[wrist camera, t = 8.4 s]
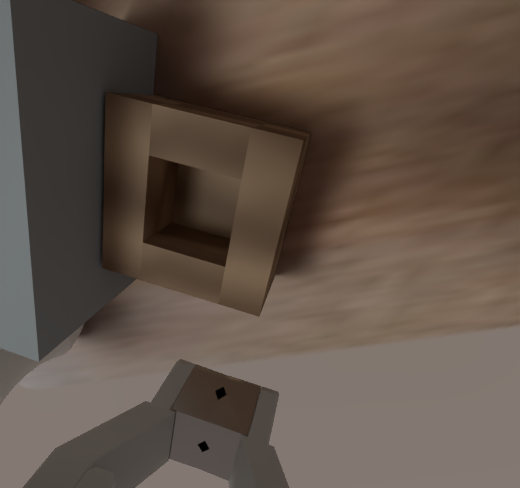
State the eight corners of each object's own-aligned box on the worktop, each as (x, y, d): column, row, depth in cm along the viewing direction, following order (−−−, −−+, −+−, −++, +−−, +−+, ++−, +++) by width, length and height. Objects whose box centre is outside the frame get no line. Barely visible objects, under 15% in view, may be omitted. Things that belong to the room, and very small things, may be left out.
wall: (118, 25, 24) (-58, -39, 14) (157, 33, 24) (8, -25, 13) (111, 266, 33) (-3, 347, 22) (140, 275, 32) (38, 361, 21)
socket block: (155, 95, 26) (105, 92, 20) (311, 132, 24) (303, 140, 19) (144, 239, 30) (102, 268, 25) (274, 277, 29) (259, 316, 24)
